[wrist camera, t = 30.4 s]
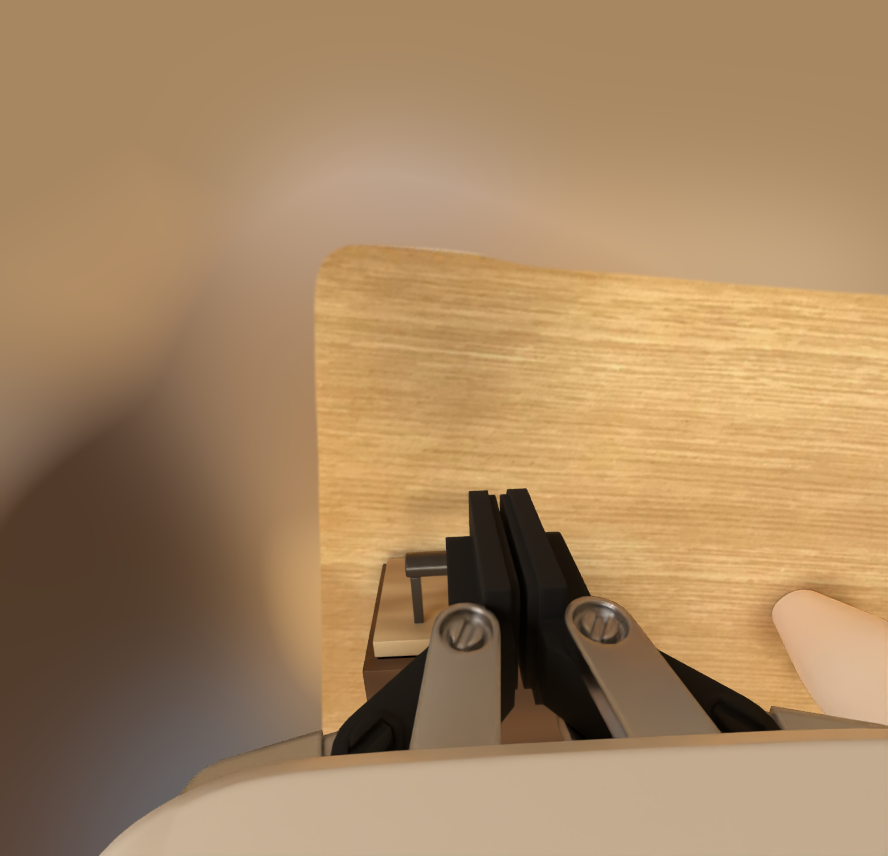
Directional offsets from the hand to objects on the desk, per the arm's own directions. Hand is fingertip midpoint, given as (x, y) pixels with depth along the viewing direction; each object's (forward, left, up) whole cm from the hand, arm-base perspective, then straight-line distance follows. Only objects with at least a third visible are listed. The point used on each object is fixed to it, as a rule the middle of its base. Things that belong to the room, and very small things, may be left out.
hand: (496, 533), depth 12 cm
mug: (+36, +7, -17) cm, 40 cm away
